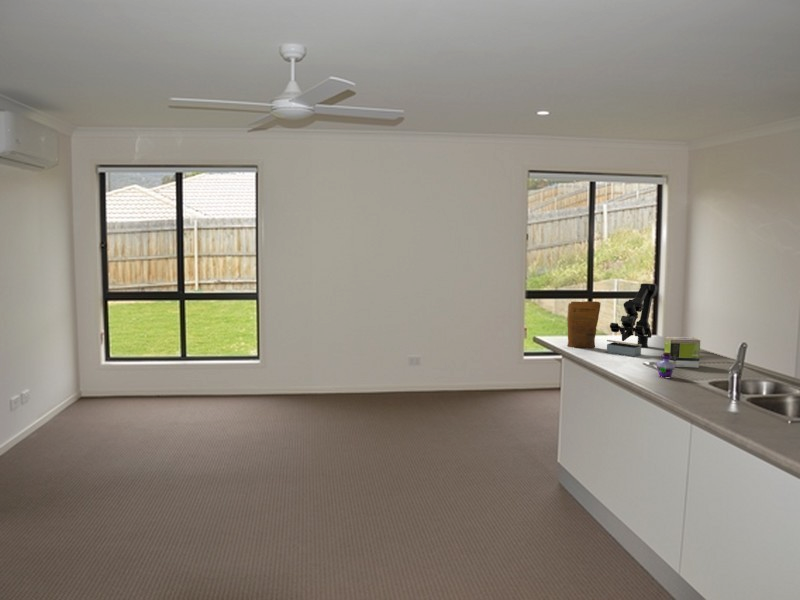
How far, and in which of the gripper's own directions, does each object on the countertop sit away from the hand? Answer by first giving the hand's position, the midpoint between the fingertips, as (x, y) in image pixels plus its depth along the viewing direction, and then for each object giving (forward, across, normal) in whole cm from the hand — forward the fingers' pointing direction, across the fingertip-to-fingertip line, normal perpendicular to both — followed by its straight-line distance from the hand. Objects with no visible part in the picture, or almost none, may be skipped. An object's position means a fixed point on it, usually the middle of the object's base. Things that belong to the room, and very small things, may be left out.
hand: (622, 340), depth 359 cm
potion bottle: (+35, +36, -24) cm, 56 cm away
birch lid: (0, 0, +3) cm, 3 cm away
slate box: (+4, 0, +8) cm, 8 cm away
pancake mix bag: (+3, -26, +8) cm, 27 cm away
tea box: (+11, +34, +1) cm, 35 cm away
